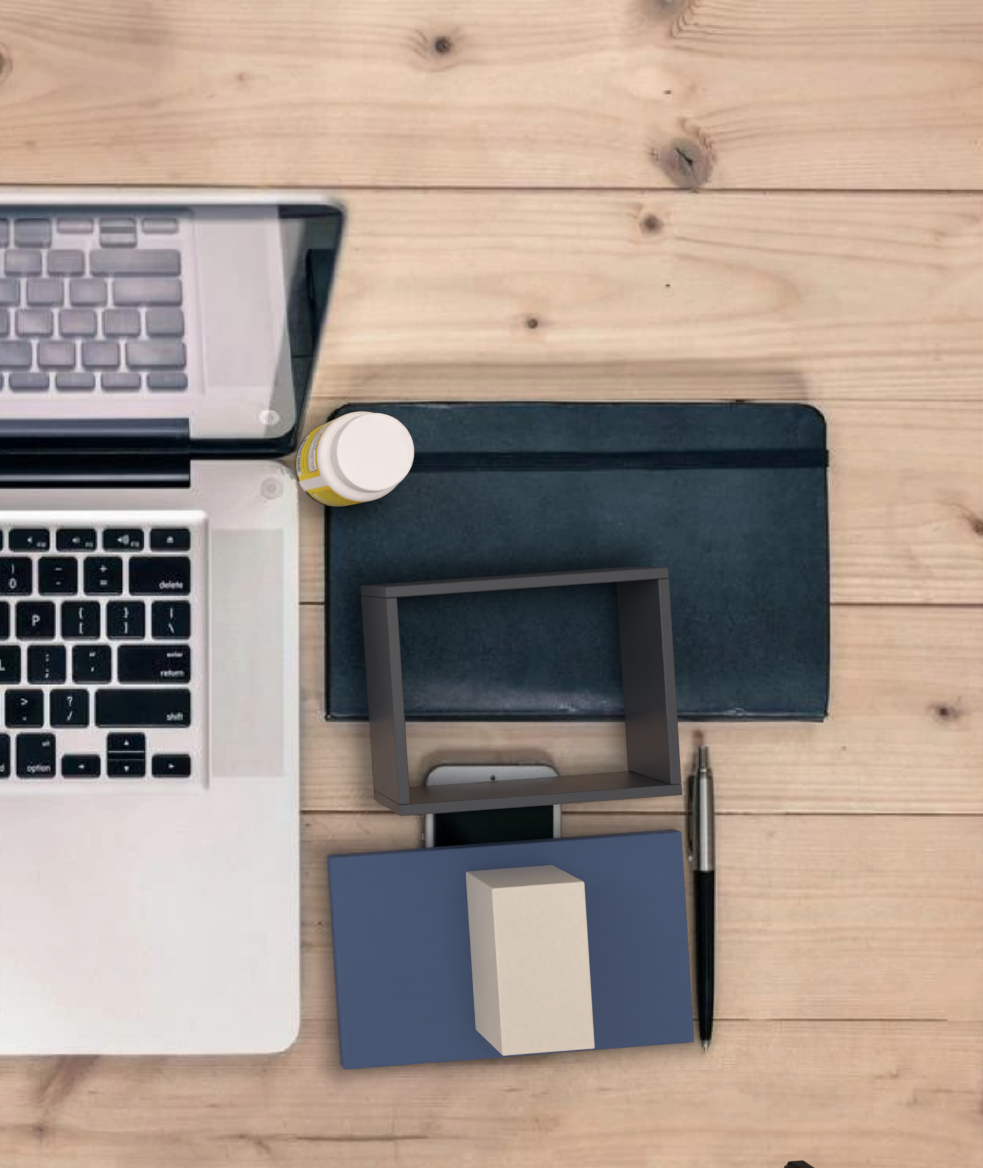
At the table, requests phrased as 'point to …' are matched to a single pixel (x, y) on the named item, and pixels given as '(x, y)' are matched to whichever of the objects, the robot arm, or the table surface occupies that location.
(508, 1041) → the block
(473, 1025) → the pad
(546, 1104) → the table surface
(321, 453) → the supplement bottle
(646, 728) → the dark grey rectangular frame
